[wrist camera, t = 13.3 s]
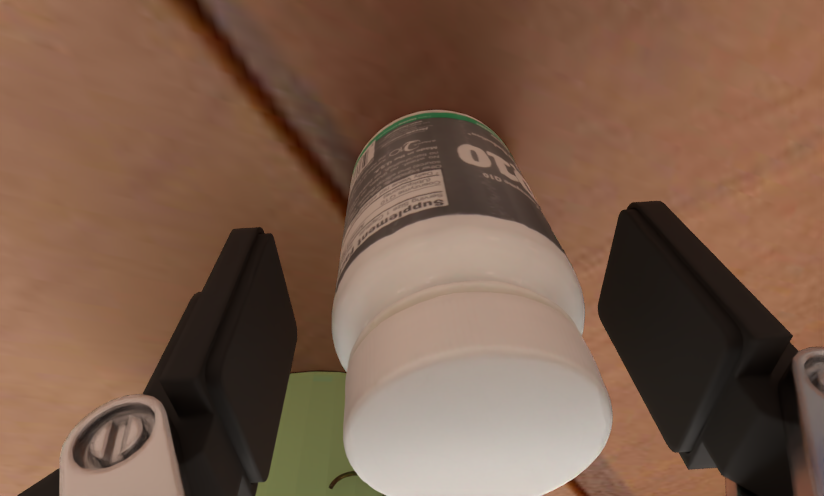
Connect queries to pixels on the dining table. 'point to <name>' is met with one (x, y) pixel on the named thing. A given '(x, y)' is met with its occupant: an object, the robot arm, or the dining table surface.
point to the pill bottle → (459, 322)
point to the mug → (313, 442)
